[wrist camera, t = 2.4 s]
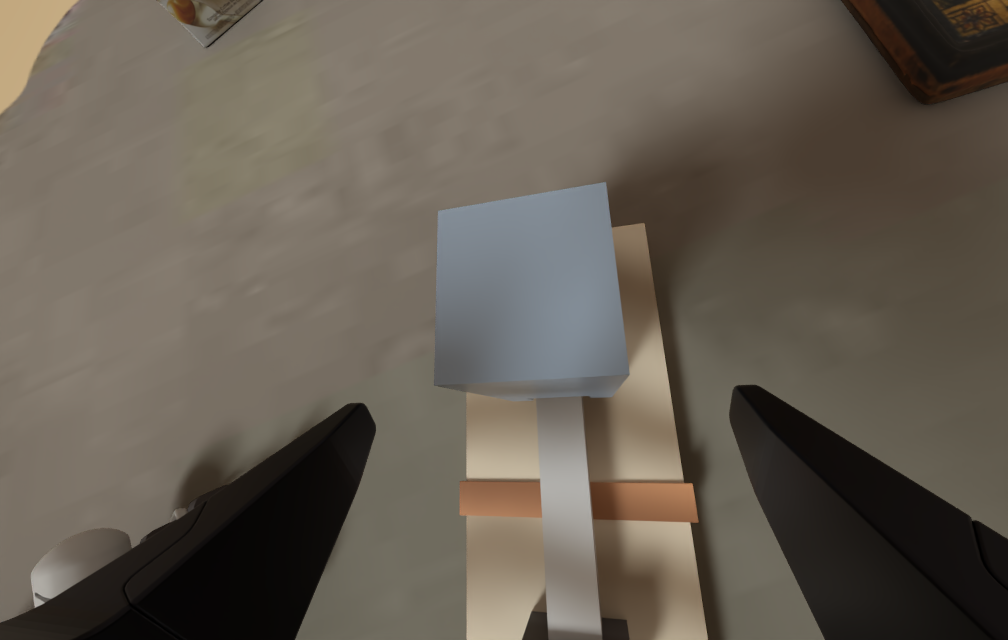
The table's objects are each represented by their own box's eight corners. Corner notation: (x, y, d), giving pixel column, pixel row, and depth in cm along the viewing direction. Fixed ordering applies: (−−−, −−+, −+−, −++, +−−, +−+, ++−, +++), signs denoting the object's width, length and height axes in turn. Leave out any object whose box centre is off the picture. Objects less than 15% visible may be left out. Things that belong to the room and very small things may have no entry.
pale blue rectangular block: (611, 397, 17) (629, 374, 8) (513, 401, 18) (434, 385, 9) (600, 296, 18) (606, 181, 9) (510, 305, 19) (438, 210, 10)
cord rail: (714, 679, 15) (754, 768, 11) (471, 650, 17) (436, 715, 13) (646, 235, 20) (658, 194, 17) (470, 259, 23) (445, 228, 19)
